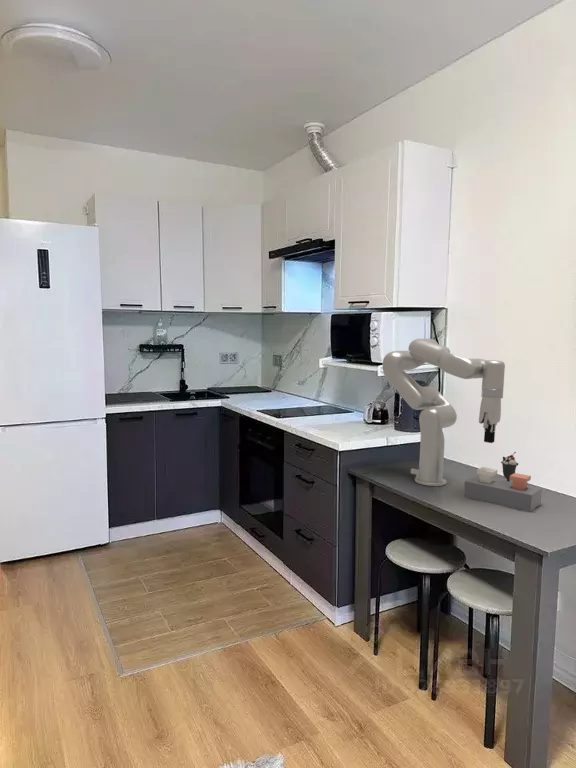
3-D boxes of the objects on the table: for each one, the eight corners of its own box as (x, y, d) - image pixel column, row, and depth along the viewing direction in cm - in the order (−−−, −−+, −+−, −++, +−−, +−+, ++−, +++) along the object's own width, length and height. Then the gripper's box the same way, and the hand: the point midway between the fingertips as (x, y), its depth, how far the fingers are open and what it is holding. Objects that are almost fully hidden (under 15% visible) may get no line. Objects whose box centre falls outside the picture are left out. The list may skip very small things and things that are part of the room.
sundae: (518, 490, 212) (521, 453, 210) (500, 489, 213) (503, 452, 212) (515, 485, 218) (517, 449, 217) (497, 484, 219) (500, 448, 218)
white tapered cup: (475, 488, 202) (477, 469, 201) (481, 485, 206) (482, 466, 205) (490, 492, 198) (492, 472, 198) (496, 489, 202) (497, 469, 202)
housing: (463, 496, 202) (464, 481, 201) (476, 490, 211) (477, 475, 210) (530, 511, 186) (531, 495, 186) (540, 503, 195) (541, 488, 195)
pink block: (508, 495, 194) (509, 475, 193) (513, 492, 198) (514, 472, 198) (524, 499, 191) (526, 478, 190) (529, 495, 195) (530, 475, 194)
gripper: (489, 391, 207) (486, 437, 209) (474, 394, 195) (471, 443, 197) (509, 393, 202) (506, 440, 204) (495, 396, 190) (491, 446, 192)
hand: (489, 442), depth 200 cm, fingers closed
